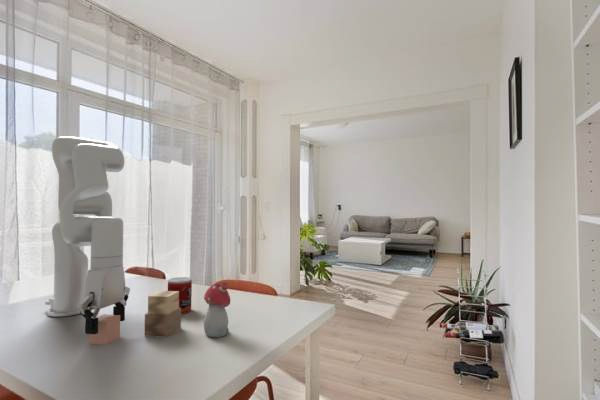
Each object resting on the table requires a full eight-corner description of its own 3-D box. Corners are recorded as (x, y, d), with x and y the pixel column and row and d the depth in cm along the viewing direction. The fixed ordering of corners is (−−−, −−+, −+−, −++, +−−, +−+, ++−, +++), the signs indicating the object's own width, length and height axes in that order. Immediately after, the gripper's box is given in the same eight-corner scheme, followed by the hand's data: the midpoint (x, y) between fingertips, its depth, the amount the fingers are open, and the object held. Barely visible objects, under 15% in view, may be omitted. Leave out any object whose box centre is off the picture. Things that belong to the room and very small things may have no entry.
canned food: (183, 315, 105) (184, 282, 106) (162, 313, 107) (162, 281, 107) (195, 308, 113) (196, 277, 113) (175, 307, 115) (176, 276, 115)
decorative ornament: (233, 336, 88) (234, 282, 88) (210, 342, 84) (210, 285, 85) (222, 326, 96) (222, 276, 96) (200, 330, 92) (200, 279, 93)
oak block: (147, 313, 89) (148, 296, 89) (159, 307, 95) (159, 290, 95) (168, 314, 88) (168, 296, 88) (178, 308, 94) (178, 291, 94)
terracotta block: (89, 343, 83) (89, 320, 83) (103, 336, 88) (104, 314, 88) (106, 344, 82) (106, 321, 83) (119, 337, 87) (120, 315, 88)
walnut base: (144, 335, 88) (144, 314, 89) (158, 326, 95) (159, 306, 96) (167, 337, 88) (168, 315, 88) (180, 328, 94) (181, 307, 95)
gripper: (117, 258, 95) (116, 316, 94) (67, 268, 78) (65, 338, 77) (140, 258, 94) (139, 317, 93) (94, 268, 77) (93, 340, 76)
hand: (106, 326), depth 85 cm, fingers open, 9 cm apart
